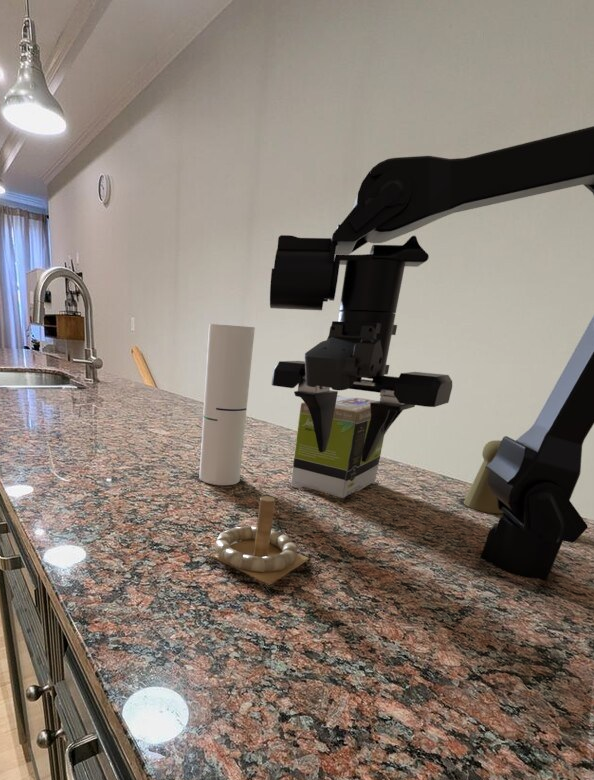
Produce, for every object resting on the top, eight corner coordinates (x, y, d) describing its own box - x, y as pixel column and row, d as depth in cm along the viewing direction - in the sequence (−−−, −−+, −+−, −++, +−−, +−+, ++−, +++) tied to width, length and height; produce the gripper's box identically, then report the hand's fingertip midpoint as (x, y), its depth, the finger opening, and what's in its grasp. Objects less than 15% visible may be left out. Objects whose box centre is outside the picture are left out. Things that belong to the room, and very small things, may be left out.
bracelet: (310, 555, 52) (312, 543, 51) (265, 584, 45) (266, 570, 44) (247, 529, 57) (248, 518, 56) (198, 552, 51) (199, 539, 50)
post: (307, 565, 51) (319, 500, 48) (268, 591, 46) (278, 520, 43) (252, 541, 56) (259, 481, 53) (210, 562, 51) (215, 496, 47)
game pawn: (493, 501, 77) (514, 439, 73) (512, 515, 72) (535, 448, 67) (457, 498, 78) (476, 435, 73) (473, 511, 72) (494, 444, 68)
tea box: (326, 470, 88) (339, 393, 82) (376, 483, 82) (394, 402, 77) (287, 486, 77) (300, 399, 72) (342, 503, 72) (360, 409, 66)
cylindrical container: (236, 487, 75) (252, 327, 65) (195, 482, 76) (204, 323, 67) (242, 475, 81) (257, 327, 72) (203, 470, 83) (213, 324, 73)
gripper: (250, 306, 47) (239, 451, 53) (438, 309, 36) (398, 492, 42) (303, 312, 55) (288, 438, 61) (471, 316, 44) (433, 469, 50)
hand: (342, 456), depth 53 cm, fingers open, 5 cm apart
